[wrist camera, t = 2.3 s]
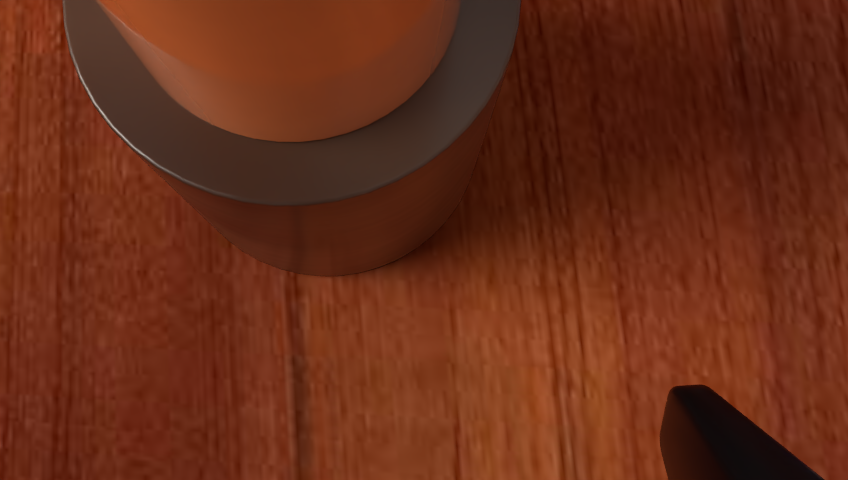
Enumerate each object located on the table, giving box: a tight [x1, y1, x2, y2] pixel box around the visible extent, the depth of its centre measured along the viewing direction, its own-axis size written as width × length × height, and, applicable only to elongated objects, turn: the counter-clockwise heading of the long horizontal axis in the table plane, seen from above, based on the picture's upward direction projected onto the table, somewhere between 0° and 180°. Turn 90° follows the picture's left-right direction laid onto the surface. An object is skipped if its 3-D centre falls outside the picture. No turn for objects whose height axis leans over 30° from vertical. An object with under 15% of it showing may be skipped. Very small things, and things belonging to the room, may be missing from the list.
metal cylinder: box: [63, 0, 521, 276], centre depth 20 cm, size 9×9×8 cm
